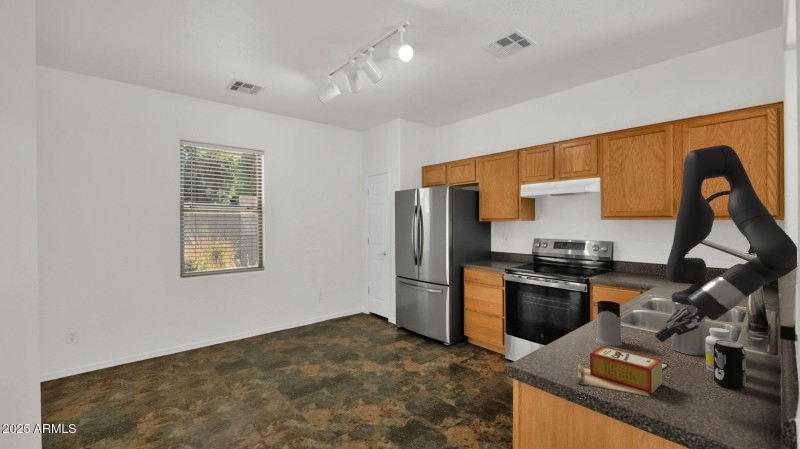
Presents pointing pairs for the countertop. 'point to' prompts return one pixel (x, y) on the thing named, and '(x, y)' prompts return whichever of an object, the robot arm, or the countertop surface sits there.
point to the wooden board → (604, 382)
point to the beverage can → (729, 364)
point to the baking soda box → (626, 368)
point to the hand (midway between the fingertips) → (658, 338)
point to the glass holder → (609, 323)
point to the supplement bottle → (710, 341)
